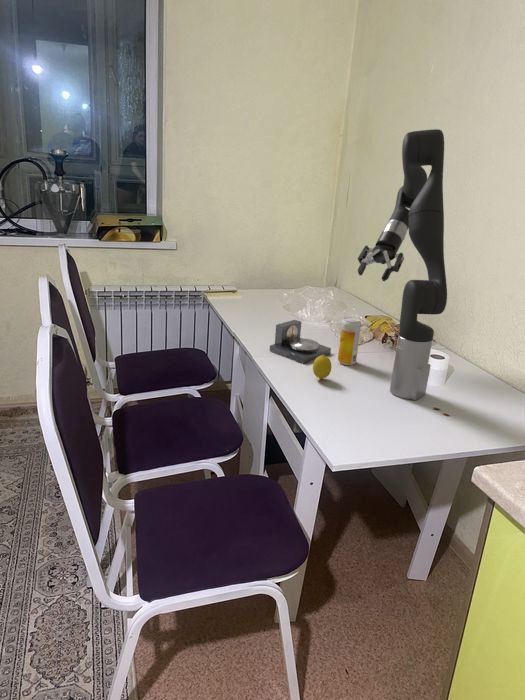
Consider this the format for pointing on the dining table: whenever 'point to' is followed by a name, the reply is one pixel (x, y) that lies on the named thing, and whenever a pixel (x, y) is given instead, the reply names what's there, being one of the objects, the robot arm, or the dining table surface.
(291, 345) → the pan
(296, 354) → the scale
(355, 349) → the beer can
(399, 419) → the dining table surface
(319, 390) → the dining table surface
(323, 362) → the lemon
